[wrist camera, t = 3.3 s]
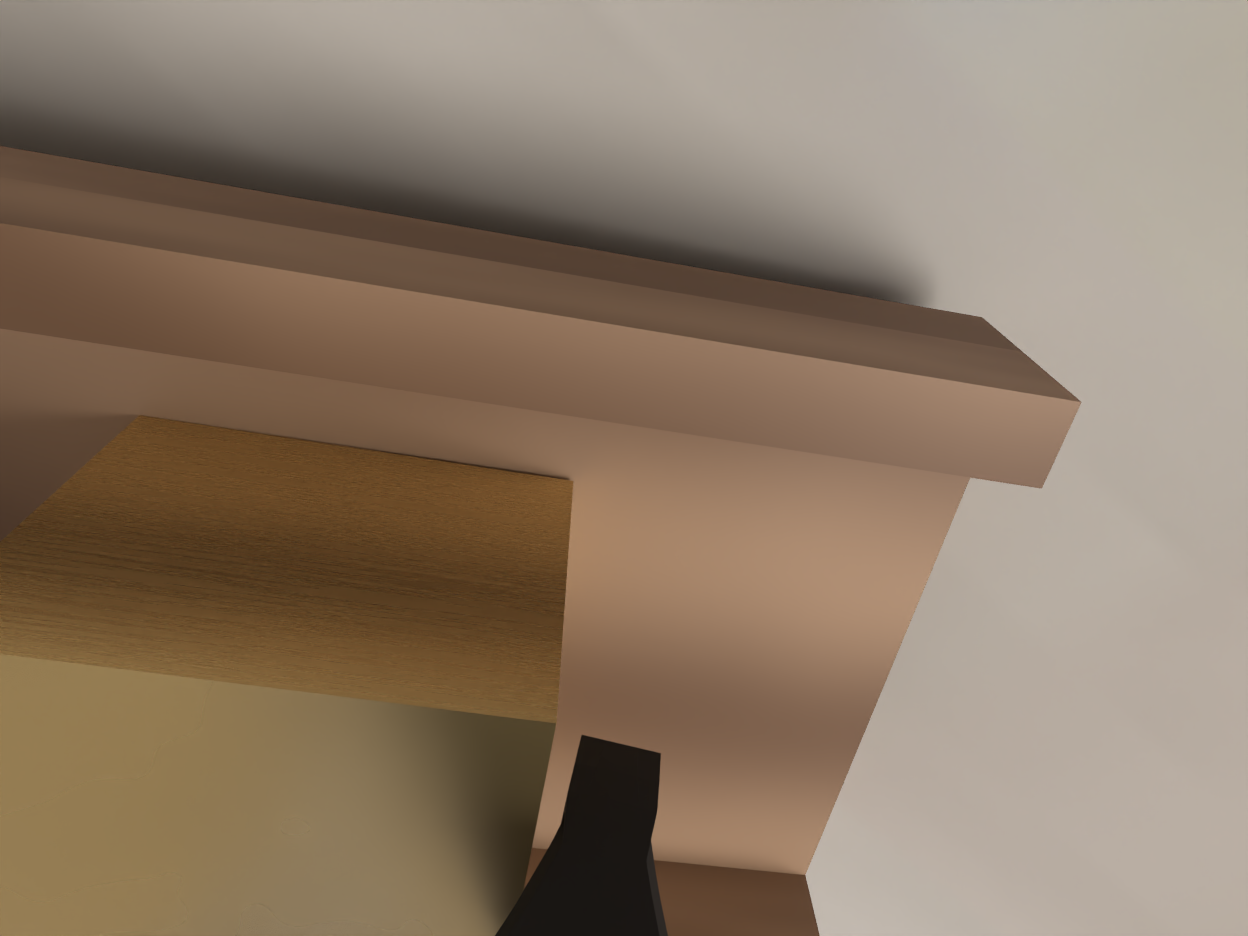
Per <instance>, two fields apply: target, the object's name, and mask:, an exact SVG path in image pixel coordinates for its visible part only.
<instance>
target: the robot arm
mask: <svg viewBox="0 0 1248 936" xmlns="http://www.w3.org/2000/svg"><path fill="white" fill-rule="evenodd" d="M660 761H661V753H658V752H654V751H650V750H645V749H641V748H637V747H633V746H628V745H624V744H620V743H616V742H611V741H607V740H603V739H599V738H594V737H590V736H586V735H581V739H580V743H579V747H578V751H577V756H576V760H575V764H574V768H573V772H572V776H571V781H570V785H569V789H568V793H567V798H566V802H565V807H564V811H563V816H562V820H561V825H560V827H559V829H558V831H557V833H556V835H555V836H554V838H553V840H552V842H551V844H550V846H549V848H548V849H547V851H546V853H545V855H544V856H543V858H542V860H541V861H540V863H539V865H538V866H537V868H536V870H535V872H534V873H533V875H532V877H531V878H530V880H529V882H528V884H527V885H526V887H525V889H524V890H523V892H522V894H521V895H520V897H519V899H518V901H517V902H516V904H515V906H514V907H513V909H512V910H511V912H510V914H509V915H508V917H507V918H506V920H505V921H504V923H503V924H502V926H501V927H500V929H499V930H498V932H497V933H496V935H495V936H668V934H667V929H666V924H665V919H664V914H663V909H662V904H661V899H660V894H659V888H658V883H657V877H656V871H655V864H654V857H653V850H652V843H651V838H652V833H653V829H654V824H655V820H656V815H657V808H658V795H659V781H660Z"/></svg>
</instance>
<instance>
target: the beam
mask: <svg viewBox="0 0 1248 936" xmlns="http://www.w3.org/2000/svg"><path fill="white" fill-rule="evenodd" d="M1080 404H1081V401H1079V400H1078V399H1077V398H1076V397H1075V396H1074V395H1072V394H1071V393H1070V392H1069V391H1068V390H1067V389H1065V388H1064V387H1063V386H1062V385H1061V384H1060V383H1058V382H1057V381H1056V380H1055V379H1054V378H1053V377H1051V376H1050V375H1049V374H1048V373H1047V372H1045V371H1044V370H1043V369H1042V368H1041V367H1040V366H1038V365H1037V364H1036V363H1035V362H1034V361H1033V360H1031V359H1030V358H1029V357H1028V356H1027V355H1026V354H1024V353H1023V352H1022V351H1021V350H1020V349H1019V348H1017V347H1016V346H1015V345H1014V344H1013V343H1012V342H1010V341H1009V340H1008V339H1007V338H1006V337H1004V336H1003V335H1002V334H1001V333H1000V332H999V331H997V330H996V329H995V328H994V327H993V326H992V325H990V324H989V323H988V322H987V321H986V320H985V319H983V318H982V317H977V316H971V315H966V314H960V313H954V312H949V311H943V310H937V309H931V308H926V307H920V306H914V305H908V304H903V303H897V302H891V301H886V300H880V299H874V298H868V297H863V296H857V295H851V294H845V293H840V292H834V291H828V290H823V289H817V288H811V287H805V286H800V285H794V284H788V283H783V282H777V281H771V280H765V279H760V278H754V277H748V276H742V275H737V274H731V273H725V272H720V271H714V270H708V269H702V268H697V267H691V266H685V265H679V264H674V263H668V262H662V261H657V260H651V259H645V258H639V257H634V256H628V255H622V254H616V253H611V252H605V251H599V250H594V249H588V248H582V247H576V246H571V245H565V244H559V243H553V242H548V241H542V240H536V239H531V238H525V237H519V236H513V235H508V234H502V233H496V232H490V231H485V230H479V229H473V228H468V227H462V226H456V225H450V224H445V223H439V222H433V221H427V220H422V219H416V218H410V217H405V216H399V215H393V214H387V213H382V212H376V211H370V210H364V209H359V208H353V207H347V206H342V205H336V204H330V203H324V202H319V201H313V200H307V199H302V198H296V197H290V196H284V195H279V194H273V193H267V192H261V191H256V190H250V189H244V188H239V187H233V186H227V185H221V184H216V183H210V182H204V181H198V180H193V179H187V178H181V177H176V176H170V175H164V174H158V173H153V172H147V171H141V170H135V169H130V168H124V167H118V166H113V165H107V164H101V163H95V162H90V161H84V160H78V159H72V158H67V157H61V156H55V155H50V154H44V153H38V152H32V151H27V150H21V149H15V148H9V147H4V146H0V542H1V541H2V540H3V539H4V538H5V537H6V536H7V535H8V534H9V533H10V532H12V531H13V530H14V529H15V528H16V527H17V526H18V525H19V524H20V523H21V522H23V521H24V520H25V519H26V518H27V517H28V516H29V515H30V514H31V513H32V512H34V511H35V510H36V509H37V508H38V507H39V506H40V505H41V504H42V503H43V502H45V501H46V500H47V499H48V498H49V497H50V496H51V495H52V494H53V493H54V492H56V491H57V490H58V489H59V488H60V487H61V486H62V485H63V484H64V483H65V482H67V481H68V480H69V479H70V478H71V477H72V476H73V475H74V474H75V473H76V472H78V471H79V470H80V469H81V468H82V467H83V466H84V465H85V464H86V463H87V462H88V461H90V460H91V459H92V458H93V457H94V456H95V455H96V454H97V453H98V452H99V451H101V450H102V449H103V448H104V447H105V446H106V445H107V444H108V443H109V442H110V441H112V440H113V439H114V438H115V437H116V436H117V435H118V434H119V433H120V432H121V431H123V430H124V429H125V428H126V427H127V426H128V425H129V424H130V423H131V422H132V421H134V420H135V419H136V418H137V417H138V416H139V415H142V416H148V417H155V418H162V419H168V420H175V421H181V422H188V423H195V424H201V425H208V426H214V427H221V428H227V429H234V430H241V431H247V432H254V433H260V434H267V435H274V436H280V437H287V438H293V439H300V440H306V441H313V442H320V443H326V444H333V445H339V446H346V447H353V448H359V449H366V450H372V451H379V452H385V453H392V454H399V455H405V456H412V457H418V458H425V459H432V460H438V461H445V462H451V463H458V464H464V465H471V466H478V467H484V468H491V469H497V470H504V471H511V472H517V473H524V474H530V475H537V476H543V477H550V478H557V479H563V480H570V481H573V495H572V509H571V523H570V537H569V552H568V566H567V580H566V594H565V609H564V623H563V637H562V652H561V666H560V680H559V694H558V709H557V723H556V728H555V733H554V738H553V743H552V749H551V754H550V759H549V764H548V769H547V774H546V779H545V784H544V789H543V794H542V799H541V804H540V809H539V814H538V819H537V824H536V830H535V835H534V840H533V845H532V850H531V855H530V860H529V865H528V870H527V875H526V880H525V885H524V889H525V887H526V885H527V884H528V882H529V880H530V878H531V877H532V875H533V873H534V872H535V870H536V868H537V866H538V865H539V863H540V861H541V860H542V858H543V856H544V855H545V853H546V851H547V849H548V848H549V846H550V844H551V842H552V840H553V838H554V836H555V835H556V833H557V831H558V829H559V827H560V825H561V820H562V816H563V811H564V807H565V802H566V798H567V793H568V789H569V785H570V781H571V776H572V772H573V768H574V764H575V760H576V756H577V751H578V747H579V743H580V739H581V735H586V736H590V737H594V738H599V739H603V740H607V741H611V742H616V743H620V744H624V745H628V746H633V747H637V748H641V749H645V750H650V751H654V752H658V753H661V761H660V781H659V795H658V808H657V815H656V820H655V824H654V829H653V833H652V838H651V843H652V850H653V857H654V864H655V871H656V877H657V883H658V888H659V894H660V899H661V904H662V909H663V914H664V919H665V924H666V929H667V934H668V936H819V932H818V927H817V923H816V919H815V915H814V910H813V906H812V902H811V898H810V894H809V889H808V885H807V881H806V877H805V874H806V872H807V869H808V867H809V865H810V862H811V860H812V857H813V855H814V853H815V850H816V848H817V845H818V843H819V840H820V838H821V836H822V833H823V831H824V828H825V826H826V824H827V821H828V819H829V816H830V814H831V812H832V809H833V807H834V804H835V802H836V800H837V797H838V795H839V792H840V790H841V787H842V785H843V783H844V780H845V778H846V775H847V773H848V771H849V768H850V766H851V763H852V761H853V759H854V756H855V754H856V751H857V749H858V747H859V744H860V742H861V739H862V737H863V734H864V732H865V730H866V727H867V725H868V722H869V720H870V718H871V715H872V713H873V710H874V708H875V706H876V703H877V701H878V698H879V696H880V693H881V691H882V689H883V686H884V684H885V681H886V679H887V677H888V674H889V672H890V669H891V667H892V665H893V662H894V660H895V657H896V655H897V653H898V650H899V648H900V645H901V643H902V640H903V638H904V636H905V633H906V631H907V628H908V626H909V624H910V621H911V619H912V616H913V614H914V612H915V609H916V607H917V604H918V602H919V600H920V597H921V595H922V592H923V590H924V587H925V585H926V583H927V580H928V578H929V575H930V573H931V571H932V568H933V566H934V563H935V561H936V559H937V556H938V554H939V551H940V549H941V547H942V544H943V542H944V539H945V537H946V534H947V532H948V530H949V527H950V525H951V522H952V520H953V518H954V515H955V513H956V510H957V508H958V506H959V503H960V501H961V498H962V496H963V494H964V491H965V489H966V486H967V484H968V481H969V479H970V477H971V478H977V479H984V480H990V481H997V482H1003V483H1010V484H1016V485H1023V486H1029V487H1036V488H1042V487H1043V485H1044V482H1045V480H1046V478H1047V476H1048V474H1049V472H1050V469H1051V467H1052V465H1053V463H1054V461H1055V459H1056V456H1057V454H1058V452H1059V450H1060V448H1061V445H1062V443H1063V441H1064V439H1065V437H1066V435H1067V432H1068V430H1069V428H1070V426H1071V424H1072V422H1073V419H1074V417H1075V415H1076V413H1077V411H1078V409H1079V406H1080Z"/></svg>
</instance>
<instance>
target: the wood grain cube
mask: <svg viewBox="0 0 1248 936" xmlns="http://www.w3.org/2000/svg"><path fill="white" fill-rule="evenodd" d="M572 495H573V481H570V480H563V479H557V478H550V477H543V476H537V475H530V474H524V473H517V472H511V471H504V470H497V469H491V468H484V467H478V466H471V465H464V464H458V463H451V462H445V461H438V460H432V459H425V458H418V457H412V456H405V455H399V454H392V453H385V452H379V451H372V450H366V449H359V448H353V447H346V446H339V445H333V444H326V443H320V442H313V441H306V440H300V439H293V438H287V437H280V436H274V435H267V434H260V433H254V432H247V431H241V430H234V429H227V428H221V427H214V426H208V425H201V424H195V423H188V422H181V421H175V420H168V419H162V418H155V417H148V416H142V415H139V416H138V417H137V418H136V419H135V420H134V421H132V422H131V423H130V424H129V425H128V426H127V427H126V428H125V429H124V430H123V431H121V432H120V433H119V434H118V435H117V436H116V437H115V438H114V439H113V440H112V441H110V442H109V443H108V444H107V445H106V446H105V447H104V448H103V449H102V450H101V451H99V452H98V453H97V454H96V455H95V456H94V457H93V458H92V459H91V460H90V461H88V462H87V463H86V464H85V465H84V466H83V467H82V468H81V469H80V470H79V471H78V472H76V473H75V474H74V475H73V476H72V477H71V478H70V479H69V480H68V481H67V482H65V483H64V484H63V485H62V486H61V487H60V488H59V489H58V490H57V491H56V492H54V493H53V494H52V495H51V496H50V497H49V498H48V499H47V500H46V501H45V502H43V503H42V504H41V505H40V506H39V507H38V508H37V509H36V510H35V511H34V512H32V513H31V514H30V515H29V516H28V517H27V518H26V519H25V520H24V521H23V522H21V523H20V524H19V525H18V526H17V527H16V528H15V529H14V530H13V531H12V532H10V533H9V534H8V535H7V536H6V537H5V538H4V539H3V540H2V541H1V542H0V936H495V935H496V933H497V932H498V930H499V929H500V927H501V926H502V924H503V923H504V921H505V920H506V918H507V917H508V915H509V914H510V912H511V910H512V909H513V907H514V906H515V904H516V902H517V901H518V899H519V897H520V895H521V894H522V892H523V890H524V885H525V880H526V875H527V870H528V865H529V860H530V855H531V850H532V845H533V840H534V835H535V830H536V824H537V819H538V814H539V809H540V804H541V799H542V794H543V789H544V784H545V779H546V774H547V769H548V764H549V759H550V754H551V749H552V743H553V738H554V733H555V728H556V723H557V709H558V694H559V680H560V666H561V652H562V637H563V623H564V609H565V594H566V580H567V566H568V552H569V537H570V523H571V509H572Z"/></svg>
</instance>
